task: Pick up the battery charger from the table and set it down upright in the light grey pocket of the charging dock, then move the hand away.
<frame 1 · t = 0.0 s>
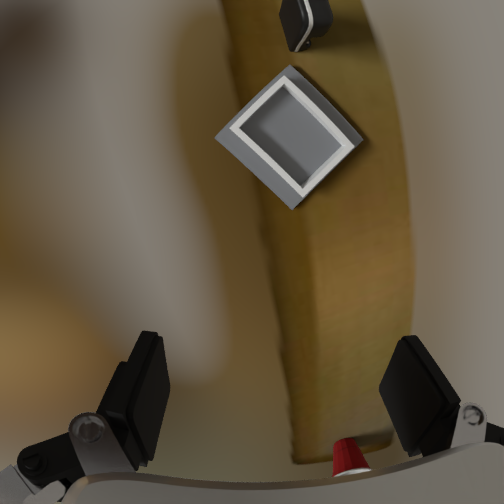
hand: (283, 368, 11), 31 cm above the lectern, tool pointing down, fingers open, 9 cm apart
charging dock: (290, 136, 36), on the lectern
battery charger: (297, 31, 31), on the lectern
plastic cup: (342, 442, 62), on the lectern
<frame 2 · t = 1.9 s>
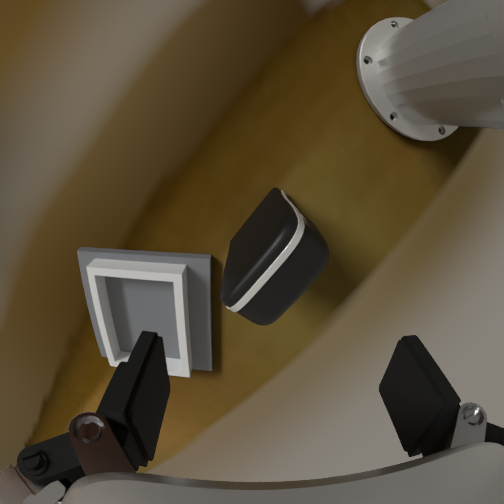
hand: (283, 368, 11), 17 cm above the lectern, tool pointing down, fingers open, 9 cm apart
charging dock: (147, 311, 30), on the lectern
battery charger: (267, 225, 27), on the lectern
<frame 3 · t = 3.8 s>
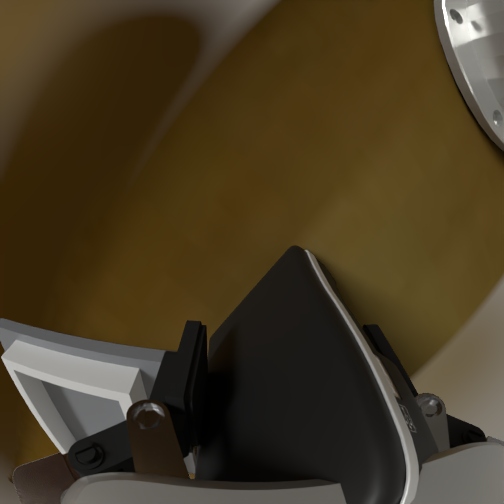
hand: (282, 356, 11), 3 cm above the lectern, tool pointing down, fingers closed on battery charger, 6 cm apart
charging dock: (100, 407, 17), on the lectern
battery charger: (277, 309, 14), on the lectern, touching gripper
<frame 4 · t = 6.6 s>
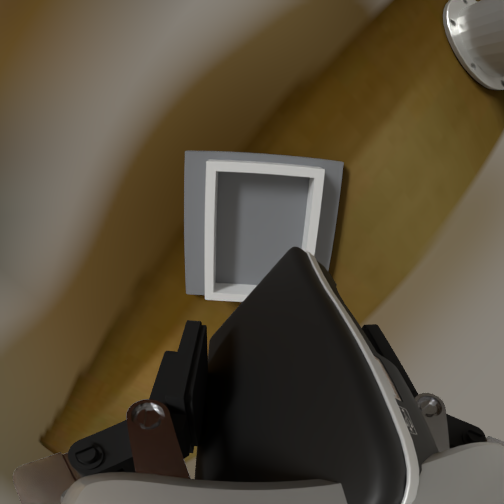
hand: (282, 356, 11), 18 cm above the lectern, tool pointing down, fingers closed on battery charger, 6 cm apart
charging dock: (259, 228, 28), on the lectern
battery charger: (277, 310, 14), point 15 cm above the lectern, touching gripper
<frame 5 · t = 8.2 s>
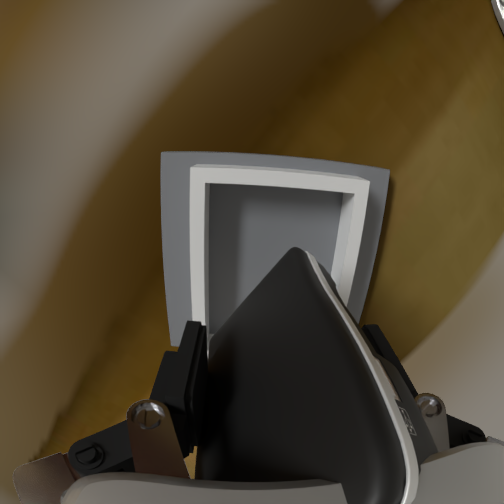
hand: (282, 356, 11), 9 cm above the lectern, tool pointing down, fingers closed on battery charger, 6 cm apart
charging dock: (270, 261, 20), on the lectern
battery charger: (277, 310, 14), point 6 cm above the lectern, touching gripper
when the fingers open (5 cm above the lectern, at t = 9.4 s): battery charger drops 1 cm, resting on charging dock.
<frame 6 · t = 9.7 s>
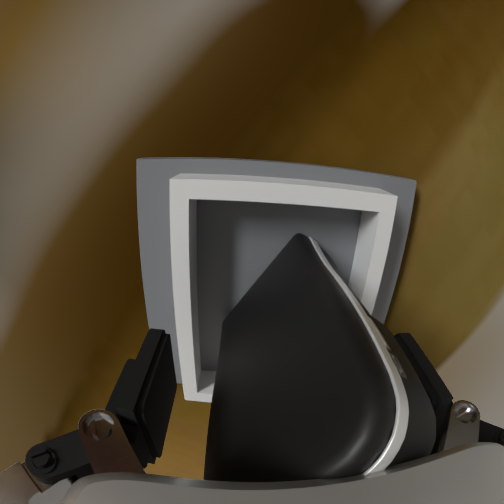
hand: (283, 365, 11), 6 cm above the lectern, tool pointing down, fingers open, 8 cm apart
charging dock: (271, 290, 16), on the lectern
battery charger: (284, 294, 16), point 1 cm above the lectern, touching charging dock
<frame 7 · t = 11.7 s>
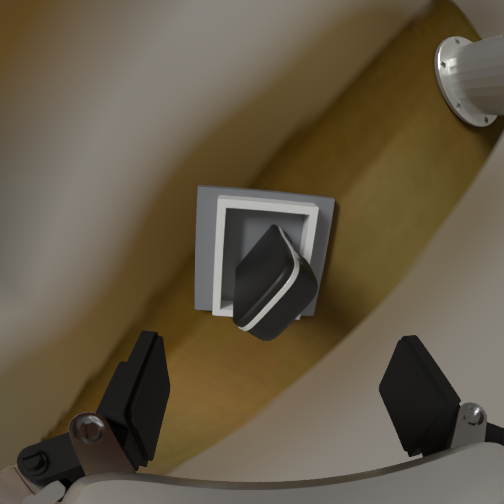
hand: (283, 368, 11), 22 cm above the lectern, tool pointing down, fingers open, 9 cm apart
charging dock: (260, 254, 32), on the lectern
battery charger: (266, 255, 32), point 1 cm above the lectern, touching charging dock
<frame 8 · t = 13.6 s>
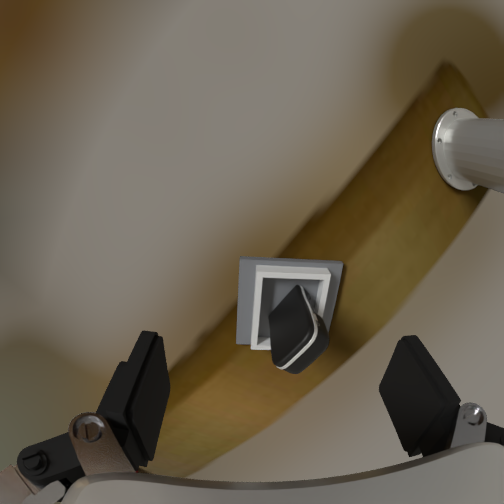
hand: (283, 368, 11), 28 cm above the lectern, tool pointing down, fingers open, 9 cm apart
charging dock: (286, 303, 42), on the lectern
battery charger: (291, 305, 41), point 1 cm above the lectern, touching charging dock
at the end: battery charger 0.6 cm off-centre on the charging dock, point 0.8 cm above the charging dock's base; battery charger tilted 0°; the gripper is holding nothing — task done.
